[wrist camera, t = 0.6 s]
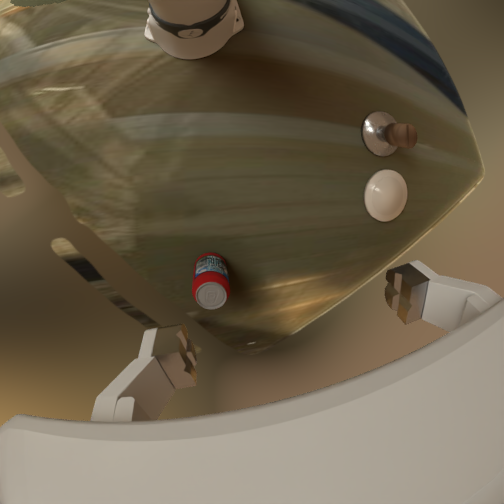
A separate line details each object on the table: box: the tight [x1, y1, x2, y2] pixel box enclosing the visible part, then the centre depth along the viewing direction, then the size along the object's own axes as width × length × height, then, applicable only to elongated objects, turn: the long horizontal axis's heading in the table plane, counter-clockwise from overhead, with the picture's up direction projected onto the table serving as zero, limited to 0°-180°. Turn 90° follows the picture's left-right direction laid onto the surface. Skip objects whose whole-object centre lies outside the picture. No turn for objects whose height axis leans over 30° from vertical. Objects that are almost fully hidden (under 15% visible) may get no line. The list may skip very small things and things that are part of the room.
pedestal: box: [361, 111, 397, 156], centre depth 49 cm, size 10×10×5 cm
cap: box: [384, 123, 417, 148], centre depth 44 cm, size 5×5×6 cm
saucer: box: [364, 169, 407, 221], centre depth 56 cm, size 12×12×1 cm
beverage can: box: [192, 253, 230, 309], centre depth 52 cm, size 7×7×12 cm
